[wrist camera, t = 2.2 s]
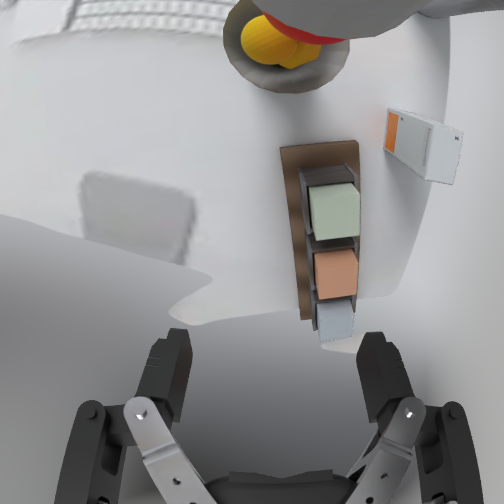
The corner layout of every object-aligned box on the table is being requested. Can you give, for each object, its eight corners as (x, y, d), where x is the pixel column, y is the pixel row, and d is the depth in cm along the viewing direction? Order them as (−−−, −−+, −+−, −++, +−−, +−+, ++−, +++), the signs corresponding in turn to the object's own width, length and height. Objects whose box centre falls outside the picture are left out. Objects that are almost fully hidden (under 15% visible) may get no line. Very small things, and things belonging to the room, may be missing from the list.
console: (279, 147, 34) (282, 161, 29) (354, 140, 33) (371, 152, 28) (300, 314, 51) (303, 342, 45) (353, 307, 49) (361, 333, 44)
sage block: (305, 179, 33) (313, 199, 28) (345, 175, 32) (359, 194, 27) (309, 215, 36) (316, 240, 31) (346, 211, 35) (359, 235, 30)
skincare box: (386, 107, 30) (433, 122, 20) (413, 112, 30) (465, 131, 20) (381, 149, 33) (423, 181, 23) (408, 154, 33) (454, 186, 23)
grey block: (314, 291, 43) (319, 320, 38) (345, 287, 42) (354, 315, 37) (315, 313, 46) (319, 341, 41) (344, 309, 45) (351, 336, 40)
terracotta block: (311, 242, 38) (317, 269, 33) (347, 237, 37) (358, 263, 32) (313, 271, 41) (319, 299, 36) (346, 266, 40) (356, 294, 35)
